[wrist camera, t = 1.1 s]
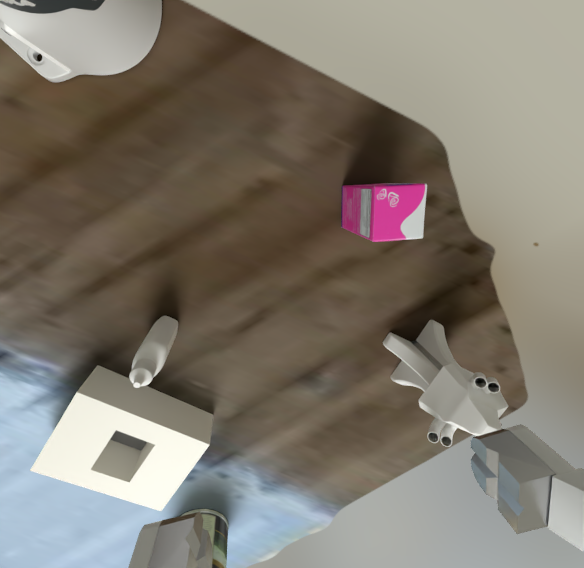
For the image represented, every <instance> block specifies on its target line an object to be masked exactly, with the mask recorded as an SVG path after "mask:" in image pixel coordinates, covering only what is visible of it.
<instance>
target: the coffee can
mask: <svg viewBox="0 0 584 568" xmlns="http://www.w3.org/2000/svg"><path fill="white" fill-rule="evenodd" d="M196 512H200V513H201V515H202V517H203V520H204V521H203V528H204V529H205V530H207V531H208V532H209V535H210V538H211V543H212V557H213V560H212V568H226V560H227V536H228V522H227V520H226V518H225V517H224V516H223V515H222V514H221V513H219V512H217V511H214V510H210V509H196V510H192V511H189V512H186V513H184V514H183V515H187V514H192V513H196ZM183 515H181V516H183Z"/></svg>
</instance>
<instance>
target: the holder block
mask: <svg viewBox="0 0 584 568" xmlns="http://www.w3.org/2000/svg"><path fill="white" fill-rule="evenodd" d="M212 422H213V414H211V413H208V412H206V411H204V410H201V409H199V408H197V407H194V406H192V405H190V404H187V403H185V402H183V401H180V400H178V399H176V398H173V397H171V396H169V395H166V394H164V393H162V392H159V391H157V390H155V389H152V388H150V387H148V386H140V387H139V388H135V387H134V386H133V383H132V382H131V381H130V379H129V378H127V377H125V376H122V375H120V374H118V373H115V372H113V371H111V370H108V369H106V368H104V367H101V366H99V365H97V366H96V368H95V369H94V370H93V372H92V373H91V374H90V375H89V377H88V378H87V379H86V381H85V382H84V383H83V385H82V386H81V387H80V388H79V390H78V391H77V392H76V394H75V396H74V397H73V399H72V401H71V403H70V404H69V406H68V408H67V409H66V411H65V413H64V414H63V416H62V418H61V419H60V421H59V423H58V424H57V426H56V428H55V429H54V431H53V433H52V434H51V436H50V438H49V439H48V441H47V443H46V445H45V446H44V448H43V450H42V451H41V453H40V455H39V456H38V458H37V460H36V461H35V463H34V465H33V466H32V468H31V470H30V471H33V472H36V473H39V474H43V475H46V476H49V477H52V478H55V479H59V480H62V481H65V482H68V483H72V484H75V485H78V486H81V487H84V488H88V489H91V490H94V491H97V492H101V493H104V494H107V495H110V496H113V497H117V498H120V499H123V500H126V501H130V502H133V503H136V504H139V505H143V506H146V507H149V508H152V509H155V510H159V511H162V509H163V508H164V507H165V505H166V504H167V503H168V501H169V500H170V498H171V497H172V496H173V494H174V493H175V492H176V490H177V489H178V487H179V486H180V485H181V483H182V482H183V481H184V479H185V478H186V477H187V475H188V474H189V472H190V471H191V470H192V468H193V467H194V466H195V464H196V463H197V461H198V460H199V459H200V457H201V456H202V455H203V453H204V452H205V451H206V449H207V448H208V446H209V445H210V438H211V430H212Z"/></svg>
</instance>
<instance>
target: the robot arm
mask: <svg viewBox="0 0 584 568" xmlns="http://www.w3.org/2000/svg"><path fill="white" fill-rule="evenodd" d="M161 16H162V0H0V38H1V39H2V40H3V41H4V42H5V43H6V44H8V45H9V46H10V47H11V48H12V49H13V50H14V51H15V52H16V53H17V54H18V55H20V56H21V57H22V58H23V59H24V60H25V61H26V62H27V63H28V64H29V65H30V66H32V67H33V68H34V69H35V70H36V71H37V72H38V73H39V74H40V75H42V76H43V77H44V78H46V79H47V80H49V81H51V82H62V81H65V80H68V79H70V78H73V77H75V76H77V75H81V74H90V75H111V74H117V73H120V72H123V71H126V70H128V69H130V68H132V67H133V66H135V65H136V64H138V63H139V62H140V61H141V60H142V59H143V58H144V57H145V56H146V55H147V54H148V52H149V51H150V49H151V48H152V46H153V44H154V42H155V40H156V38H157V35H158V32H159V28H160V24H161ZM39 54H41V55H42V60H41V61H40V62H38V60H37V56H38V55H39ZM471 448H472V449H473V451H474V452H475V454H474V456H473V457H472V459H471V464H472V470H473V473H474V475H475V478H476V480H477V482H478V483H479V485H480V487H481V488H482V489H483V491H484V492H485V493H486V494H487V495H488V496H490V497H492V498H494V499H496V500H497V502H498V510H499V511H500V513H501V514H502V515H503V516H504V518H505V519H506V520H507V522H508V523H509V524H510V526H511V527H512V528H513V529H514V531H515V532H516V533H517V534H519V533H523V532H527V531H531V530H535V529H539V528H543V527H547V526H548V529H550V530H551V531H553V532H554V533H556V534H557V535H559V536H560V537H562V538H563V539H565V540H567V541H568V542H570V543H571V544H573V545H574V546H576V547H577V548H579V549H580V550H582V551H583V552H584V469H582V468H580V469H575V468H574V467H573V466H571V465H570V464H569V463H568V462H567V461H565V460H564V459H563V458H562V457H561V456H560V455H559V454H557V453H556V452H555V451H554V450H553V449H552V448H550V447H549V446H548V445H547V444H546V443H545V442H543V441H542V440H541V439H540V438H538V436H536V435H535V434H534V433H533V432H532V431H531V430H529V429H528V428H527V427H525V426H523V425H517V426H513V427H510V428H506V429H501V430H497V431H494V432H490V433H487V434H483V435H480V436H476V437H473V438H472V440H471ZM203 521H204V520H203V517H202V515H201V513H200V512H196V513H192V514H187V515H183V516H179V517H175V518H171V519H166V520H162V521H158V522H155V523H151V524H147V525H144V526H143V528H142V530H141V531H140V533H139V536H138V539H137V542H136V545H135V549H134V552H133V555H132V558H131V561H130V564H129V567H128V568H212V560H213V557H212V543H211V538H210V535H209V532H208V531H207V530H205V529H204V528H203Z"/></svg>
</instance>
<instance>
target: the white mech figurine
mask: <svg viewBox="0 0 584 568" xmlns="http://www.w3.org/2000/svg"><path fill="white" fill-rule="evenodd" d="M383 345H384V346H385V347H386V348H387V349H389V350H390V351H391V352H393V353H394V354H395V355H396V356H398V357H399V358H400V359H401V360H402V361H401V362H400V364H399V365H398V366H397V368H396V369H395V371H394V372H393V374H392V375H391V379H392V380H393V381H394V382H397V383H399V384H401V385H409V386H415V387H418V388H420V389H422V390H423V391H424V393H423V395H422V396H421V397H420V399H419V405H420V408H422V409H423V410H425V411H426V412H428V413H429V414H431V415H433V416H434V417H435V419H434V420H433V422H432V424H431V425H430V427H429V431H428V436H427V437H428V439H429V441H430V442H432V443H436V442H438V441H439V437H440V431H441V430H442V428H443V426H444V425H445V426H444V428H443V430H442V433H441V440H440V441H441V443H442V444H443V445H444V446H446V447H449V446H451V445H452V437H453V434H454V432H455V430H456V429H457V428H460V429H462V430H464V431H467V432H469V433H471V434H474V435H476V436H480V435H483V434H487V433H490V432H494V431H497V430H501V429H502V428H501V426H502V424H501V423H500V421H499V417H500V416H501V415H502V414H503V412H504V411H505V410H506V409H507V407H508V405H507V403H506V401H505V399H504V398H503V396H502V394H501V392H500V386H499V383H498V381H497V380H496V379H495V378H493V377H489V378H487V379H486V377H485V375H484V374H483V373H480V372H478V373H475V374H474V373H472V372H470V371H468V370H466V369H464V368H461V367H460V366H459V365H458V364H457V362H456V361H455V360H454V358H453V356H452V354H451V352H450V350H449V347H448V345H447V342H446V338H445V333H444V327H443V326H442V325H441V324H440V323H438V322H436V321H434V320H432V319H431V320H429V322H428V323H427V325H426V326H425V328H424V329H423V330H422V332H421V333H420V335H419V336H418V338H417V339H416V340H415V341H412V342H410V341H408V340H406V339H404V338H402V337H399V336H397V335H395V334H393V333H391V332H390V333H389V334H388V335H387V337H386V338H385V340H384V341H383Z"/></svg>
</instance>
